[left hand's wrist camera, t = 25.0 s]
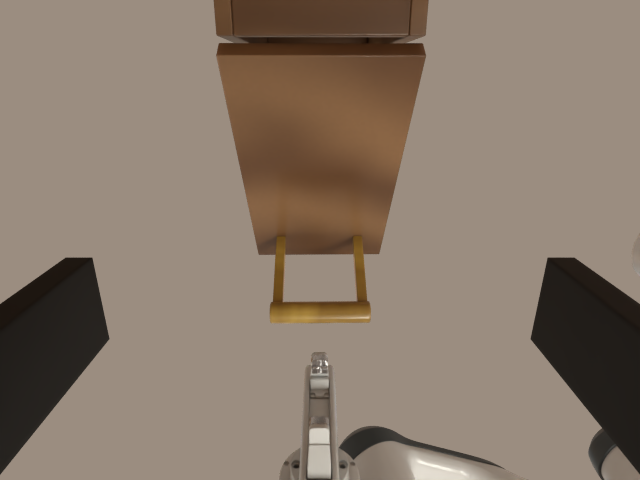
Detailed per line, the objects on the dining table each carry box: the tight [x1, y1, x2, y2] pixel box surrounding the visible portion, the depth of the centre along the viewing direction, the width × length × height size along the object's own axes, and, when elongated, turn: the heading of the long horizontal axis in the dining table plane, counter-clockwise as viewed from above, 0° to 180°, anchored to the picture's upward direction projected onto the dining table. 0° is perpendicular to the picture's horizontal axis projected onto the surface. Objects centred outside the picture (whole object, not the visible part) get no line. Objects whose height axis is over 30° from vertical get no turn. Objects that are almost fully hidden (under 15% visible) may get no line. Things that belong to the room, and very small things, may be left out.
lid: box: [216, 43, 426, 323], centre depth 26 cm, size 18×10×8 cm
